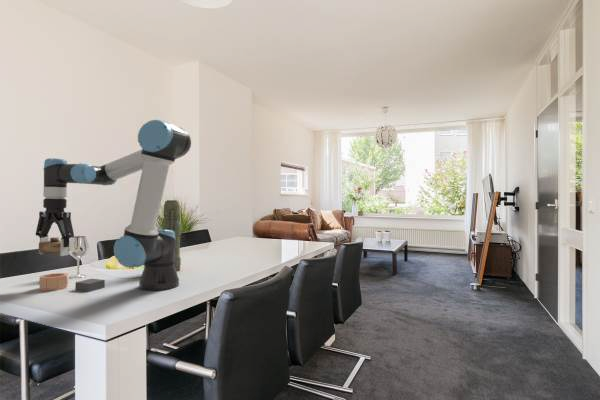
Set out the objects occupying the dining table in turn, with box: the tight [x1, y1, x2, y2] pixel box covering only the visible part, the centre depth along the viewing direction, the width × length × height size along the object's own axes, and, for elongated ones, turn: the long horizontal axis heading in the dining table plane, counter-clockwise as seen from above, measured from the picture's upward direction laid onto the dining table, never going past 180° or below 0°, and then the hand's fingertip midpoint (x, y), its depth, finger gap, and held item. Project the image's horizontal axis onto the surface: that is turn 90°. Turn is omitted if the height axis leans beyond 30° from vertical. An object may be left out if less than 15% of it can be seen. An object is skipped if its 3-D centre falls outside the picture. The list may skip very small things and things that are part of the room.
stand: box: [74, 278, 106, 293], centre depth 140 cm, size 7×7×3 cm
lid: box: [38, 236, 70, 255], centre depth 140 cm, size 10×10×6 cm
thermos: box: [161, 199, 182, 273], centre depth 177 cm, size 9×12×35 cm
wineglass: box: [68, 235, 90, 279], centre depth 161 cm, size 8×8×18 cm
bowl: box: [39, 272, 69, 292], centre depth 140 cm, size 9×9×5 cm
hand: (54, 254), depth 140 cm, fingers closed on lid, 10 cm apart
